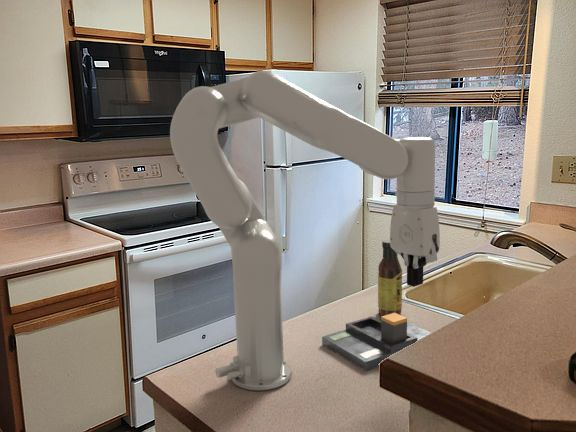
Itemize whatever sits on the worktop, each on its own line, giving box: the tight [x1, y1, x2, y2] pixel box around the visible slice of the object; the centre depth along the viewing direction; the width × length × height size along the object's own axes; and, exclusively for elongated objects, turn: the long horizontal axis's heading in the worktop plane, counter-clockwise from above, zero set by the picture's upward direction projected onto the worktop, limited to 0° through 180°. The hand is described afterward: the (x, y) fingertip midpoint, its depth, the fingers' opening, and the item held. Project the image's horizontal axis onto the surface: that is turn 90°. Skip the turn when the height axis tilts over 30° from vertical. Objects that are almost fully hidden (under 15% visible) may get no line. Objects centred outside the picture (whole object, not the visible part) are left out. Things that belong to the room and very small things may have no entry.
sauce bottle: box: [377, 239, 403, 316], centre depth 140 cm, size 7×6×20 cm
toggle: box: [380, 313, 408, 344], centre depth 118 cm, size 4×4×6 cm
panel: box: [321, 316, 432, 372], centre depth 123 cm, size 22×16×4 cm
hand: (415, 284), depth 111 cm, fingers closed
